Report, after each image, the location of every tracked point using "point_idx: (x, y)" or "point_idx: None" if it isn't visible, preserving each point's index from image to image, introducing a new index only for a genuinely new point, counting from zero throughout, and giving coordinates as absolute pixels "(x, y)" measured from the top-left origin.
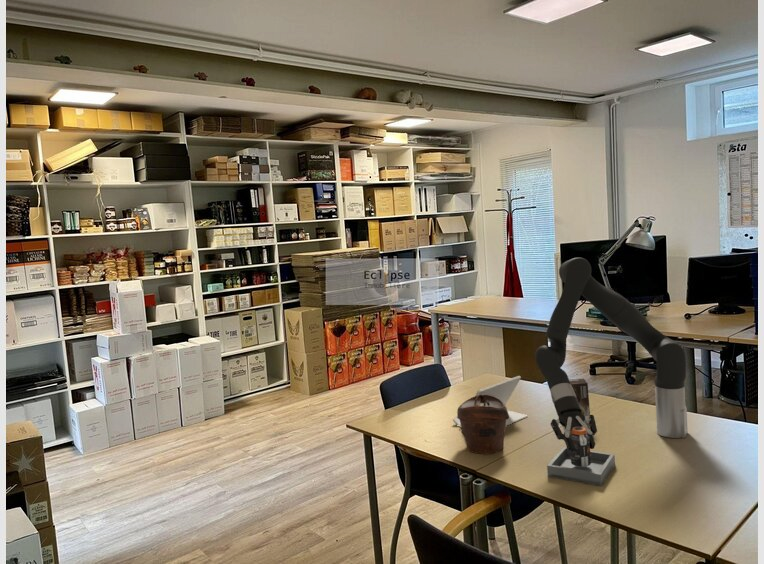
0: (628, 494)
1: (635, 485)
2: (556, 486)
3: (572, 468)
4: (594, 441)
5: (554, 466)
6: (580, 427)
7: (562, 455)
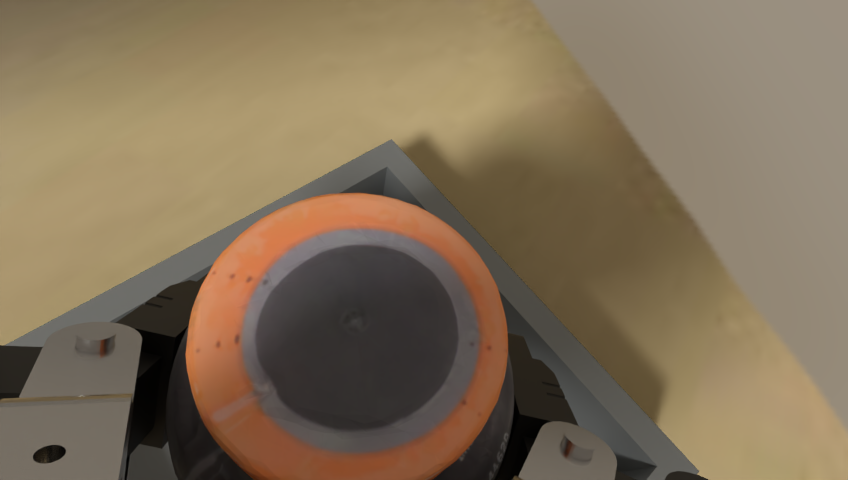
0: (323, 69)
1: (207, 109)
2: (632, 309)
3: (517, 308)
4: (155, 299)
5: (641, 417)
6: (274, 358)
7: None
